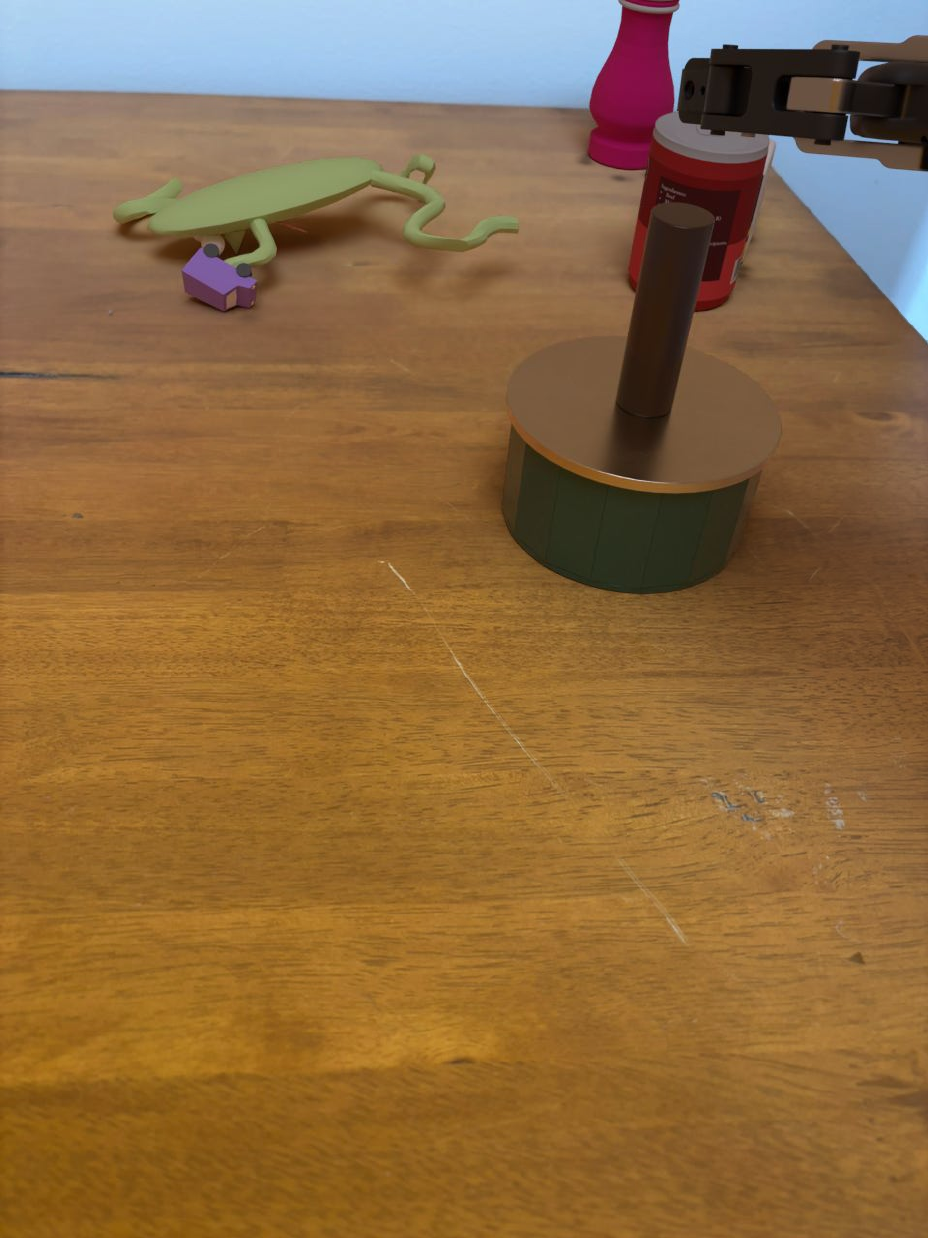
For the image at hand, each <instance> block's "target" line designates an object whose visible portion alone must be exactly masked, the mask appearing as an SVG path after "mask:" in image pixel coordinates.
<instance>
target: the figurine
mask: <svg viewBox="0 0 928 1238" xmlns="http://www.w3.org/2000/svg"><path fill="white" fill-rule="evenodd" d="M436 169H437V167H436V162H435V159H434V158H432V157H429V156H427V155H425V154H422V153H418V154H416V155H413V156H412V157H411V159H410V160H409V162H408V164H407V165H406V167H405V169H404V170H403V171H402V172H401V173H400V174H395V173H390V172H388V171H386V170H385V169H383V165H381V164H380V163H379V162H377V161H376V160H374V159H371V158H363V157H361V156H354V157H350V156H349V157H347V156H345V157H344V156H343V157H333V158H320V159H319V158H318V159H312V160H306V161H300V162H294V163H288V164H282V165H275V166H273V167H267V168H265V169H261V170H257V171H253V172H249V173H245V174H241V175H237V176H234V177H232V178H228V179H226V180H223V181H220V182H218V183H214V184H212V185H208V186H205V187H203V188H200V189H197V190H194V191H192V192H191V193H189V194H187V195H185V196H182V197H180V198H177V197H178V196H180V195H181V193H182V192H183V185H182V181H181V180H180V179H179V178H178V177H176V176H175V177H172V178H170V180H169V181H168V182H167V183H166V184H165V185H163V186H161V187H160V188H159V189H157V190H155V191H153V192H151V193H150V194H147V195H146V196H144V197H142V198H136V199H131V200H128V201H125V202H123V203H121V204H118V205H116V206H115V207H114V208H113V209H112V218H113V219H114V220H115V222H116V223H118V224H121V225H122V224H124V225H125V224H126V223H129V222H131V221H135V220H139V219H141V218H143V217H145V216H147V215H150V214H153V215H151V216H150V217H149V219H148V223H147V225H146V226H147V227H146V230H149V231H150V232H151V233H154V234H155V235H157V236H159V237H160V236H161V237H173V238H193V239H194V240H195V241H196V242H199V243H200V245H201V247H200V248H199V249H198V250H197V251H196V253H195V254H194V255H193V256H192V257H191V258H190V260H189V261H188V262H187V263H186V264H185V265H184V266H183V268H182V269H181V275H182V282H183V289H184V293H185V294H187V295H190V296H192V297H194V298H196V299H198V300H200V301H201V302H204V303H206V304H208V305H210V306H212V307H214V308H215V309H217V310H220V311H222V312H225V311H228V310H229V309H232V308H234V307H236V306H238V307H239V306H240V307H243V308H247V309H250V308H251V307H252V306H253V305H254V304H255V302H257V293H258V291H257V289H258V280H256V279H254V278H253V268H255V267H259V266H263V265H267V264H268V263H269V262H271V261H272V260H273V259H274V258H275V257H276V256H277V252H278V251H277V250H278V249H277V245H276V242H275V239H274V237H273V236H272V233H271V230H270V228H269V225H271V224H279V225H282V226H284V227H288V228H290V229H293V230H295V231H299V232H304V233H308V231H307V230H305V229H303V228H301V227H298V226H295V225H293V224H288V223H285V222H282V221H285V220H289V219H297V218H299V216H302V215H305V214H308V213H312V212H314V211H316V210H320V209H321V208H324V207H327V206H330V205H332V204H333V205H334V204H336V203H338V202H340V201H342V200H344V199H346V198H348V197H350V196H352V195H354V194H356V193H359V192H360V191H362V190H364V189H366V188H368V187H369V186H371V188H376V189H380V190H383V191H388V192H391V193H396V194H399V195H402V196H407V197H410V198H412V199H416V200H417V201H420V202H422V203H424V206H422V207H420V208H419V209H417V211H416V212H414V213H413V214H412V215H411V216H409V218H408V219H407V220H406V222H405V223H404V224H403V228H402V233H403V236H402V237H403V239H404V240H405V241H406V242H407V243H408V244H410V245H411V246H413V247H415V248H420V249H424V250H425V249H426V250H433V251H444V252H455V253H465V252H468V251H472V250H475V249H476V248H478V247H481V246H483V245H484V244H486V243H487V242H488V239H489V238H491V237H492V236H494V235H497V234H519V232H520V222H519V219H518V217H517V216H515V215H493V216H489V217H486V218H484V219H482V220H481V221H480V222H477V224H476V225H475V226H474V228H473V229H472V231H470V233H468V234H467V235H466V236H464V237H461V238H451V237H445V236H444V237H443V236H438V235H434V234H433V235H432V234H427V233H425V232H423V231H422V230H423V228H425V227H426V226H427V225H428V224H430V223H431V222H432V221H433V220H435V219H437V218H438V217H439V216H440V215H441V214H442V213H443V212H444V210H445V209H446V202H445V199H444V197H443V195H442V194H441V193H440V191H438V190H437V189H435V188H434V187H432V186H430V185H428V182H429V181H430V180H431V179H432V177H433V175H434V174H435V171H436ZM415 171H418V172H420V173H423V174H424V177H423V180H422V182H420V181H417V180H415V179H411V178H410V175H411V173H412V172H415ZM249 229H250V230H251V233H252V235H253V236H254V238H255V240H256V241H257V243H258V244H259V247H258V248H257V249H255V250H254V251H252V252H249V253H244V254H240V255H238V254H239V252H240V251H239V250H240V247H241V245H242V242H243V239H244V237H245V233H246V231H247V230H249ZM222 235H223V236H222ZM223 237H224V238H225V239H226V241H227V242H228V244H229V245H230V247H231V249H232V250H233V251H234V253H235V255H236V256H233V257H230V258H229V257H228V258H226V259H224V260H223V259H221V258H220V255H221V254H222V253H223V252H224V250H225V247H226V242H225V239H224V238H223Z"/></svg>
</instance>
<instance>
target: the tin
mask: <svg viewBox="0 0 928 1238" xmlns="http://www.w3.org/2000/svg"><path fill="white" fill-rule="evenodd" d="M506 457H507V458H506V465H505V475H504V482H503V491H502V498H501V507H502V511H503V512H502V513H503V518H504V521H505V524H506V527H507V529H508V531H509V533H510V535H511V536H512V537H513V539H514V540H515V541H516V542H517V544H518V545H519V547H520V548H522V549H523V550H524V552H526V554H528V555H529V556H530V557H531V558H532V559H534V560H535V561H537V562H538V563H539V564H540V565H542V566H544V567H546V568H547V569H549V570H551V571H552V572H555V573H557V574H558V575H561V576H562V577H564V578H567V579H570V580H572V581H574V582H577V583H579V584H584V585H587V586H589V587H594V588H596V589H602V590H607V591H608V590H609V591H613V592H619V593H627V594H660V593H667V592H668V593H669V592H675V591H680V590H684V589H687V588H691V587H694V586H696V585H699V584H701V583H704V582H706V581H707V580H709V579H711V578H713V577H714V576H716V575H717V574H719V573H720V572H721V571H722V570H723V569H724V568H726V566H727V565H728V564H729V563H730V561H732V558H733V557H734V555H735V553H736V550H737V548H738V547H739V546H740V544H741V542H742V539H743V536H744V532H745V530H746V526H747V522H748V519H749V516H750V513H751V509H752V506H753V503H754V499H755V496H756V493H757V490H758V486H759V483H760V480H761V476H762V473H763V469H764V468H763V469H762V470H761V471H759V472H758V473H757V474H755V475H754V476H752V477H750V478H748V479H746V480H744V481H742V482H740V483H737V484H734V485H731V486H728V487H724V488H720V489H716V490H712V491H704V492H697V493H679V494H671V493H652V492H643V491H635V490H630V489H625V488H619V487H615V486H611V485H607V484H604V483H600V482H597V481H594V480H591V479H588V478H585V477H582V476H580V475H578V474H575V473H573V472H571V471H569V470H566V469H564V468H562V467H560V466H559V465H557V464H555V463H553V462H551V461H550V460H548V459H547V458H545V457H544V456H542V455H541V454H539V453H538V452H537V451H535V450H534V449H533V448H532V447H531V446H530V445H529V444H527V443H526V442H525V441H524V440H523V438H522V437H521V436H520V435H519V434H518V433H517V431H516V430H515V428H514V426H513V425H512V423H511V424H510V433H509V441H508V449H507V456H506Z"/></svg>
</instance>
